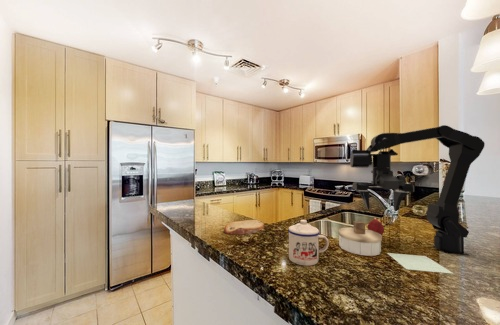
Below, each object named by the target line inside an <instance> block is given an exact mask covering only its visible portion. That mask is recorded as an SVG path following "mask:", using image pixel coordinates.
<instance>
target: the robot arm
mask: <svg viewBox="0 0 500 325" xmlns="http://www.w3.org/2000/svg"><path fill="white" fill-rule="evenodd" d="M432 139H436V140H438V141H439V142H440V143H441V145H443V146H444V147H447V148H448V157H449V160H450V162H449V163H450V164H449V167H448V169H447V172H446V175H445V178H444V182H443V185H442V187H441V191H440V194H439V197H438V199H437V201H436V202H434V203H428V205H427V210H426V211H425V213H424V214H425V215H426V219H427V222H429V224H430V225H431V226H432V228H433V230H436V231H435V234H434V236H433V240H434V242H433V243H434V245H432V247H433V248H435V249H437V250H438V251H440V252H443V253H445V254H450V255H463V256H464V255H466V256H469V253H466V252H465V241H464V240H465V238H468V235H469V232H470V231H469V230H468V229H467V228H466V227H464V226H463V225H462V224H461V223H460V216H461V215H460V212H459V208H458V203H459V200H460V198H461V194H462V191H463V188H464V185H465V182H466V178H467V176H468V173H469V170H470V167H471V164H472V163H473V162H475V161H476V160H477V159H478V158H479V157H480V156H481V153H482V152H483V150H484V148H485V141H484V140H483V139H482V138H481V137H478V135H477V136H476V135H472V134H470V133H468V132H465V131H461V130H458V129H455V128H453V127H451V126H449V125H446V124H445V125H440V126H437V127H435V126H434V127H430V128H426V129H418V130H413V131H407V132H382V133H380V134H377V135H375V136H374V137H373V138H371V140H370V145H369V146H368V147H367V148H366V149H365V150H364V149H361V150H360V149H352V150H351V155H350V158H349V164H350V168H362V169H363V168H364V169H366V168H367V169H368V168H369V167H370V166H372V170H371V171H370V172H371V174H372V181H371V183H369V182H365V181H353V183H352V188H351V189H352V190H355V191H356V192H357V193H359V194H360V197H361V199H362V200H363V203H364V205H365V207H366V210H370V191H369V190H371V189H372V190H393V191H392V196H393V197H392V199H393V200H392V201H393V203H392V204H393V210H394V211H395V212H397V211H398V210H399V207H400V205H401V203H402V201H403V199H404V197H406V196H407V195H410V194H411V193H414V192H415V185H413V183H407V182H406V176H405V175H403V174H401V175H400V174H397V175H395V176H394V171H393V170H392V168H391V167H392V165H391V164H392V156H393V157H394V156H398V152H396V151H394V149H392V147H396V146H400V145H401V144H408V143H409V144H410V143H415V142H419V141H420V142H421V141H426V140H432ZM389 148H390V149H389ZM386 149H388V150H386ZM383 150H384V151H383ZM385 150H386V151H385ZM376 152H378V153H376Z"/></svg>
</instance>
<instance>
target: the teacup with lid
mask: <svg viewBox="0 0 500 325" xmlns="http://www.w3.org/2000/svg"><path fill="white" fill-rule="evenodd" d="M299 221H300V222H297V223H296V224H294V225H290V226H289V227H288V229H287V231H288V258H289V260H290V261H291V262H292V263H294V264H297V265H300V266H307V267H308V266H314V265H316V264H318V262H319V253H324V252H325V251H326V250H327V249H328V247H329V244H330V243H329V242H330V240H329V239H328V238H327V236H326V235H323V234H320V231H319V229H318V228H317V227H316V226H313V225H311V224H310V223H308V221H307V220H306V219H300V220H299ZM319 239H324V240H325V244H324V246H323V247H322V248H319Z"/></svg>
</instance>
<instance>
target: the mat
mask: <svg viewBox="0 0 500 325" xmlns="http://www.w3.org/2000/svg"><path fill="white" fill-rule="evenodd" d="M386 254H387V255H389V256H390V257H391V258H392V259H394V260H395V262H397V263H398V264H399V265H400V266H402V267H403V268H404V269H405V270H409V271H421V272H431V273H432V272H433V273H440V274H441V273H442V274H452V275H453V274H454V272H452V271H451V270H449V269H447V268H446V267H444V266H442V265H441V264H439V263H438V262H436V261H434V260H432V259H431V258H429V257H427V256H426V255H415V254H404V253H403V254H402V253H393V252H392V253H391V252H387V253H386Z"/></svg>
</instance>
